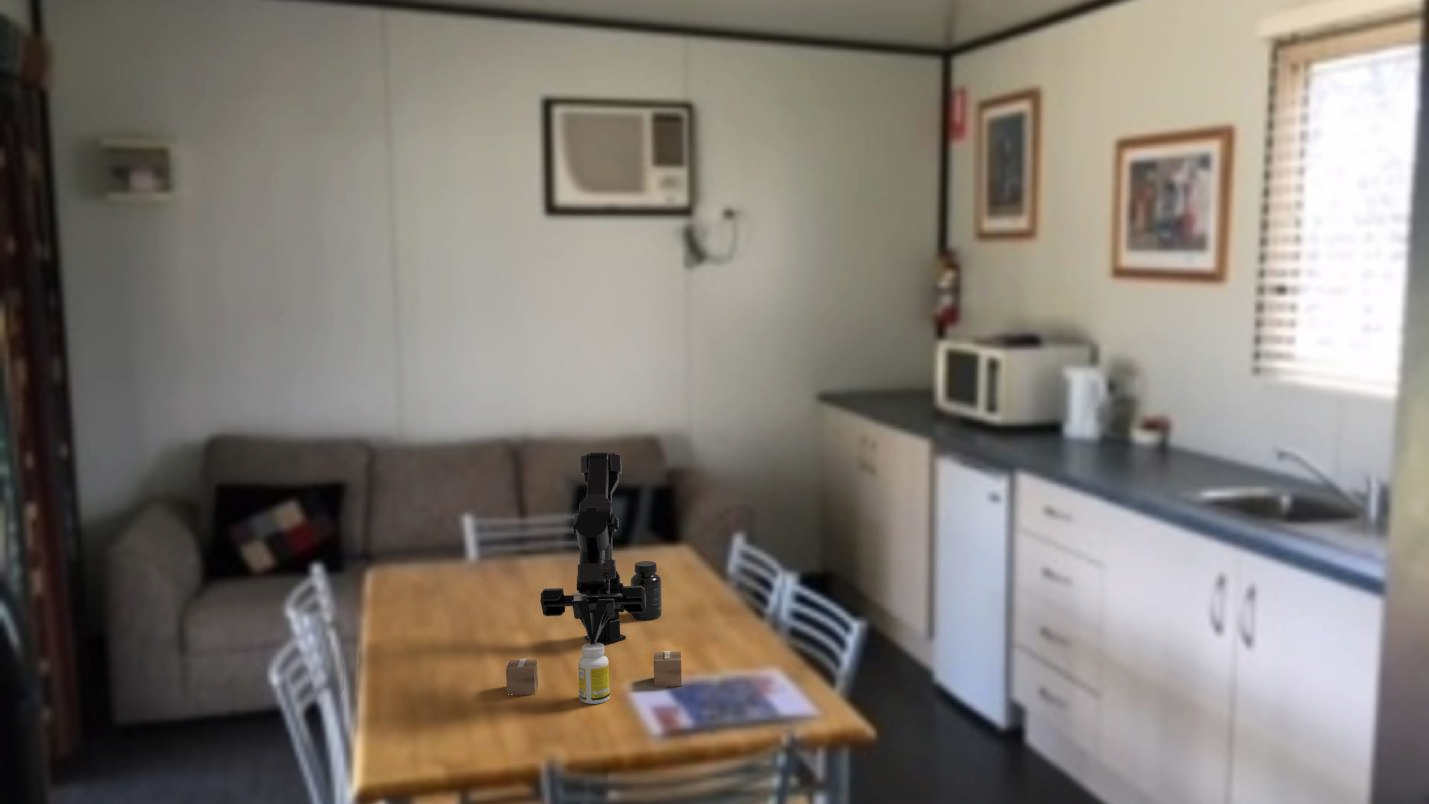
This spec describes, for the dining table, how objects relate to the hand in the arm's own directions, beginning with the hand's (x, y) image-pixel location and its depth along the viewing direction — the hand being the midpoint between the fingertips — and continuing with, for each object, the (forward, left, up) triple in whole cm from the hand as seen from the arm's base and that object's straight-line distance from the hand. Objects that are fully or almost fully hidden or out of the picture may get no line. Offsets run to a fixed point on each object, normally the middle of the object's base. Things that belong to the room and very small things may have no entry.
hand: (592, 643), depth 204 cm
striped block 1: (-13, -7, -10) cm, 18 cm away
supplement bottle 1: (0, 0, -11) cm, 11 cm away
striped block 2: (+2, +15, -10) cm, 19 cm away
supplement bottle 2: (-34, +37, -11) cm, 52 cm away
